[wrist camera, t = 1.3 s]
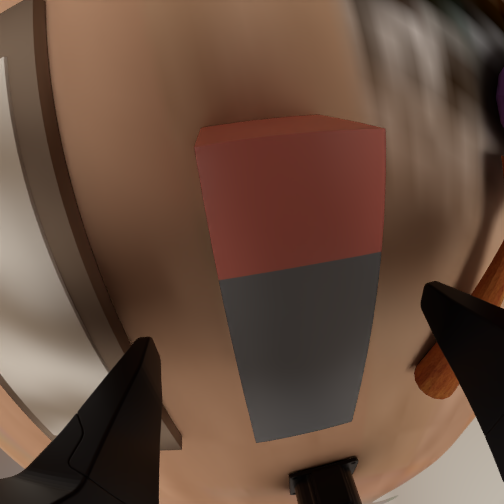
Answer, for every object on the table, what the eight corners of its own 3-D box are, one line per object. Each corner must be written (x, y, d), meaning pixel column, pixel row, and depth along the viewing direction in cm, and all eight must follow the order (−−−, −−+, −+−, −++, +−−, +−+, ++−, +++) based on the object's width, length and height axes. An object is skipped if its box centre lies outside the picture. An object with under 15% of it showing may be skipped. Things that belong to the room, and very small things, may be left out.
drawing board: (182, 436, 18) (181, 452, 16) (59, 435, 17) (56, 447, 16) (45, 1, 6) (30, -6, 5) (-97, 104, 6) (-111, 108, 5)
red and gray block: (322, 349, 15) (351, 421, 11) (243, 365, 15) (256, 443, 11) (318, 114, 10) (385, 128, 6) (200, 127, 10) (193, 146, 6)
